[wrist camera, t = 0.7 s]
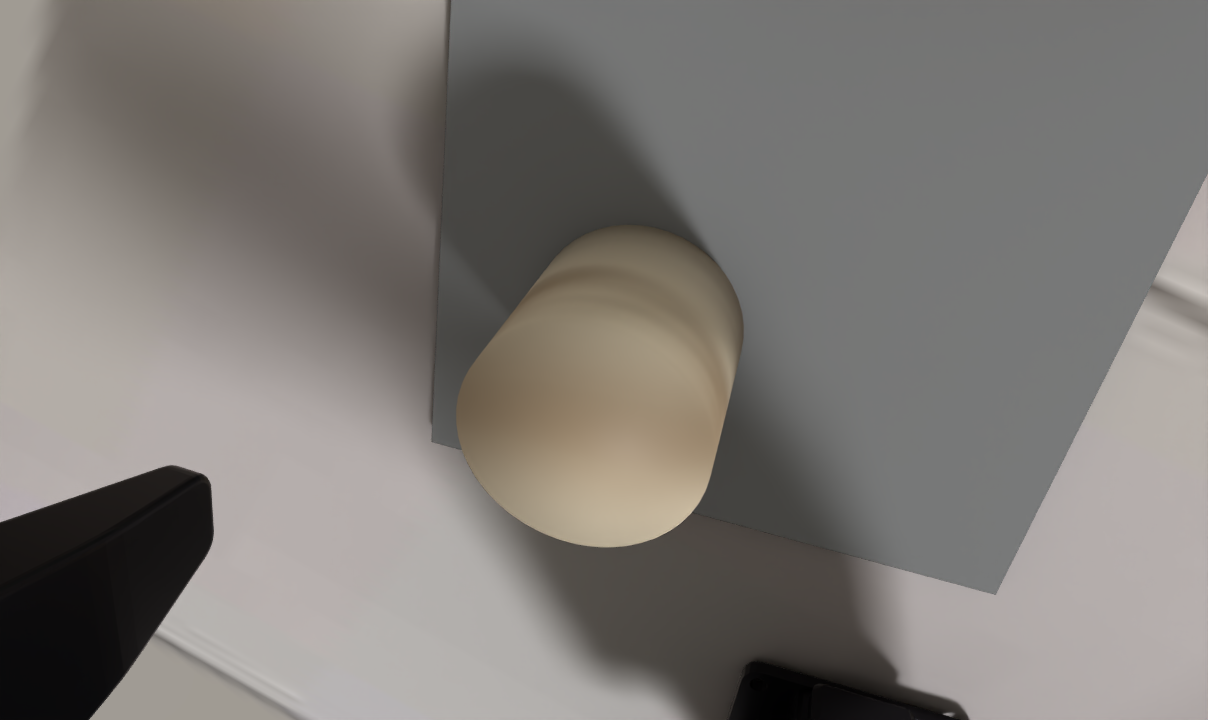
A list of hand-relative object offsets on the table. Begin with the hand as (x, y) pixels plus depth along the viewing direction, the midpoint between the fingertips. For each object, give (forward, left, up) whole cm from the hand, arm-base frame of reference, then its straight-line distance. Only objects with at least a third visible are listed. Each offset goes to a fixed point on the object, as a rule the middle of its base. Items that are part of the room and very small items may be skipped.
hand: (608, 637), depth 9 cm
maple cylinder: (-3, +2, -12) cm, 13 cm away
